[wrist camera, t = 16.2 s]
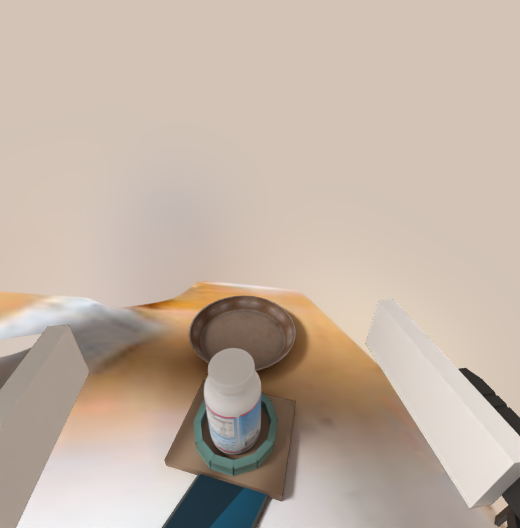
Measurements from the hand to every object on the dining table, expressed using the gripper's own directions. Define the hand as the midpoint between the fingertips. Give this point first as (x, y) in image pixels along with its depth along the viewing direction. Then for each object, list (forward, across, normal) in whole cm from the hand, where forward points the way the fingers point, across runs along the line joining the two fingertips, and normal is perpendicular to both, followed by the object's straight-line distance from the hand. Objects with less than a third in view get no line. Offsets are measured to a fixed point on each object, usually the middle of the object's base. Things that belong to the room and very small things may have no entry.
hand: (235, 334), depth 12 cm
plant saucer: (+25, +2, -26) cm, 37 cm away
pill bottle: (+10, 0, -25) cm, 27 cm away
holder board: (+10, 0, -26) cm, 28 cm away
